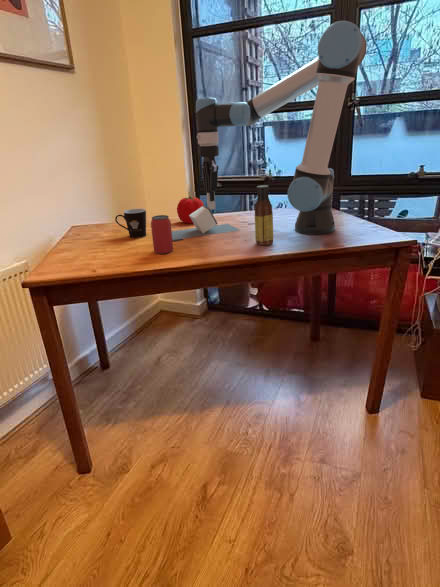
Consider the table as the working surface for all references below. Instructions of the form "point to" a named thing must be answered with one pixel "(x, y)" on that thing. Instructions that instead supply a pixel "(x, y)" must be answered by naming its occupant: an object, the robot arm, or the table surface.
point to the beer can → (162, 234)
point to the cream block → (203, 219)
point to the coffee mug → (135, 222)
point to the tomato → (188, 208)
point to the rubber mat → (194, 232)
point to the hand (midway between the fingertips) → (211, 209)
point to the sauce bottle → (263, 217)
